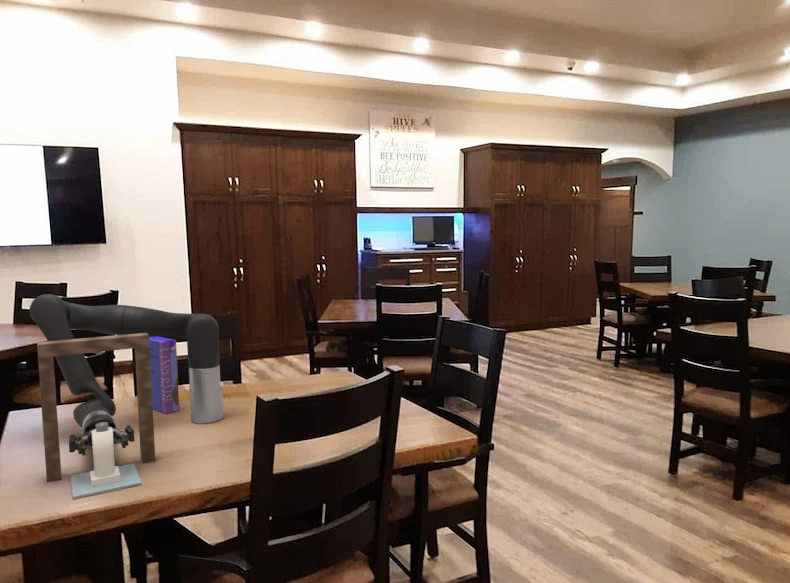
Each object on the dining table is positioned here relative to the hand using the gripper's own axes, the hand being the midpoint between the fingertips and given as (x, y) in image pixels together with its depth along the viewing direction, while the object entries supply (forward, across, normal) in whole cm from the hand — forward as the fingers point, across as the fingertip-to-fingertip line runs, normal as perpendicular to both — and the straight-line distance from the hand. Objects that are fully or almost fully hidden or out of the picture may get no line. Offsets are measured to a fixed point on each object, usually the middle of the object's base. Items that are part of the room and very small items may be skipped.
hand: (104, 447), depth 134 cm
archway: (-9, 0, +8) cm, 12 cm away
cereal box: (-55, +20, +8) cm, 59 cm away
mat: (0, 0, +8) cm, 8 cm away
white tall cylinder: (0, 0, +8) cm, 8 cm away
